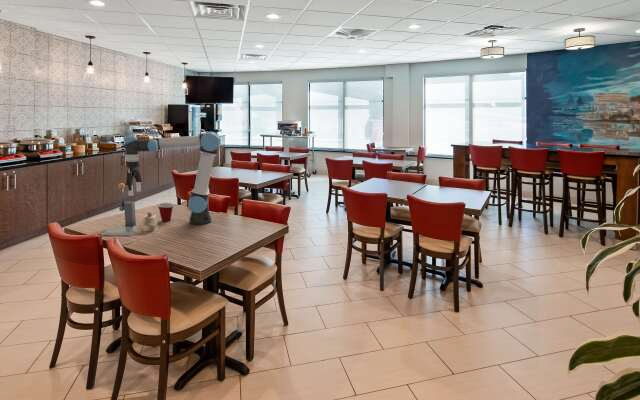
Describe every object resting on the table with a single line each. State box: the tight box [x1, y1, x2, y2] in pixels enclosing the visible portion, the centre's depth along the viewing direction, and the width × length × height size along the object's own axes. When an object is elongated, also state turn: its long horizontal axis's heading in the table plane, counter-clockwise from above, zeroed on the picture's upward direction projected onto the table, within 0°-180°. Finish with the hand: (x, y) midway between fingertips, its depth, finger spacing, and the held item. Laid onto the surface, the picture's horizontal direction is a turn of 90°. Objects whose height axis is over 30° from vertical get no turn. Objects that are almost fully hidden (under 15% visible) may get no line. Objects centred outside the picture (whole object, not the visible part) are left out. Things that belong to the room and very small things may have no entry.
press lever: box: [117, 182, 126, 212], centre depth 270 cm, size 4×4×18 cm
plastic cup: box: [157, 202, 175, 223], centre depth 288 cm, size 11×11×12 cm
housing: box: [142, 211, 158, 232], centre depth 265 cm, size 7×7×12 cm
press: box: [102, 201, 140, 237], centre depth 263 cm, size 16×26×16 cm, turn 5°
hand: (134, 193), depth 265 cm, fingers open, 13 cm apart
